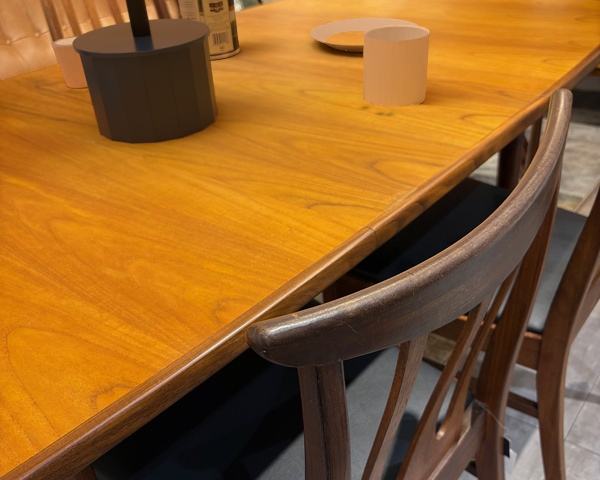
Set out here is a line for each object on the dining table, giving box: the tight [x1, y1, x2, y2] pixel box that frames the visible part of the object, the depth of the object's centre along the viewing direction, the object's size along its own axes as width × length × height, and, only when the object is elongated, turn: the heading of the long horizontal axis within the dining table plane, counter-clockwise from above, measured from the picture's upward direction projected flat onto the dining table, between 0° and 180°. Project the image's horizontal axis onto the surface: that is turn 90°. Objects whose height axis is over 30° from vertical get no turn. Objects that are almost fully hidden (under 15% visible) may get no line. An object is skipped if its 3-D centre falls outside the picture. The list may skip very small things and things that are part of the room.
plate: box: [309, 17, 420, 53], centre depth 116 cm, size 21×21×2 cm
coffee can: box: [177, 0, 241, 61], centre depth 113 cm, size 10×10×14 cm
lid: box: [72, 0, 210, 58], centre depth 78 cm, size 18×18×9 cm
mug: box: [362, 25, 430, 108], centre depth 89 cm, size 12×9×9 cm
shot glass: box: [50, 35, 88, 89], centre depth 104 cm, size 7×7×7 cm
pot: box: [79, 39, 219, 145], centre depth 84 cm, size 17×17×12 cm
